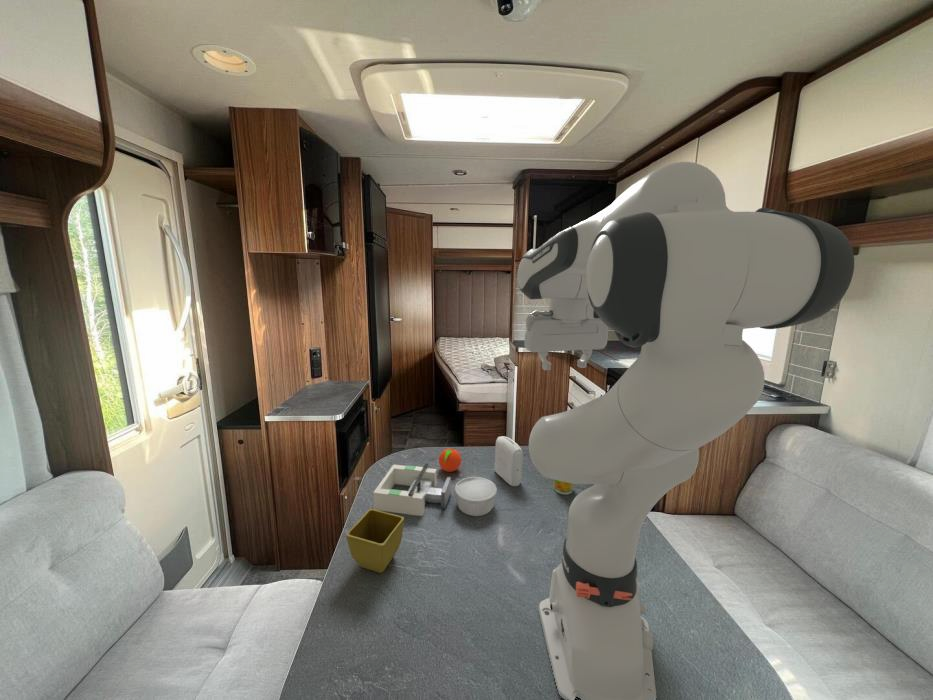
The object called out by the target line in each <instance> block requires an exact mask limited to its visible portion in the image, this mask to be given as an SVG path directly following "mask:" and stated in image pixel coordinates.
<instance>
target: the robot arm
mask: <svg viewBox="0 0 933 700" xmlns="http://www.w3.org/2000/svg"><path fill="white" fill-rule="evenodd" d="M854 270H855V255H854V250H853V247H852V244H851V242H850V240H849V238H848V237H847V235H845V233H844V232H843V231H842V230H840V229H839V228H838V227H836V226H834V225H833V224H831V223H828V222H825V221H823V220H820V219H818V218H814V217H810V216H807V215H802V214H799V213H793V212H789V211H788V212H787V211H782V210H781V211H780V210H776V209H772V208H768V207H760V208H758V209H757V210H755V211H733V210H731V209H730V208H728V206H727V202H726V193H725V189H724V186H723V184H722V182H721V181H720V178H718V176H717V175H716V173H714V172H713V171H712V170H711V169H709V168H707V167H706V166H704V165H702V164H699V163H695V162H691V161H679V162H678V161H676V162H671V163H668V164H665V165H663V166H661V167H659V168H657V169H655V170H653V171H651V172H650V173H648V174H646V175H645V176H643V177H641V178H640V179H639V180H636V182H634V183H633V184H631V185H630V186H629V187H628V188H627V189H626V190H624V191H623V192H622V193H621V194H620V195H619V196H618V197H616V198H615V200H613V202H612V203H611V204H609V205H608V206H606V207H605V208H604V209H602V210H600V211H599V212H597V213H596V214H594V215H592V216H590V217H588V218H587V219H585V220H582V221H580V222H579V223H576V224H575V225H573V226H569V227H568V228H566V229H564V230H561V231H559V232H558V233H556V234H555V235H553V236H552V237H550V238H549V239H548V240H547V241H545V242H544V243H543V244H542V245H540V246H539V247H538V248H531V249H529V250H528V251H527V252H526V253H525V254H524V255H522V257H521V259H520V262H519V265H518V269H517V284H518V289H519V290H520V292H521V293H523V295H524V296H525V297H526V298H528V299H529V300H530V301H531V300H542V299H549V303H548V304H549V305H548V310H542V311H541V310H534V311H532V312H531V313H529V314H528V315H527V316H526V320H525V321H526V322H525V325H526V330H525V335H524V341H523V342H524V343H523V346H524V348H525V349H526V350H527V351H529V352H531V353H537V355H538V357H539V359H540V361H541V368H542V370H543V371H551V370H552V362H550V361H548V360H547V357H548V356H549V353H550V352H566V351H581V352H582V355H581V357H580V358H579V359H577V364H576V366H577V367H578V368H580V369H582V368H583V369H584V368H587V366H588V365H587V364H588V361H589V359H590V357H591V356H592V354H593V350H603V349H605V347H606V346H607V345H608V336H609V328H610V329H611V330H612V331H614V333H615V335H616V338H617V339H618V340H619V341H620V342H621V343H622V344H624V345H625V346H628V347H630V348H641V349H640V353H639V356H638V357H637V359H636V360H634V362H633V363H632V364H631V365H629V367H628V368H627V369H626V371H625V372H624V373H623V374H622V375H621V376H620V378H618V380H617V381H616V382H615V383H614V384H613V385H612V387H611V388H610V389H609V390H608V391H607V392H606V393H604V394H603V395H602V394H601V396H599V397H596V398H594V399H592V400H589V401H587V402H586V403H584V404H580V405H579V406H578V405H577V407H574V408H572V409H571V408H570V409H569V410H566V411H563V412H559V413H554V414H550V415H545V416H541V417H540V418H539V419H538V420H537V421H536V423H535V424H534V426H533V427H532V429H531V431H530V434H529V440H528V450H529V455H530V456H529V457H530V460H531V462H532V464H533V465H534V467H535V469H536V470H537V471H538V473H539V474H540V475H541V476H542V477H543V478H545V479H546V478H547V479H550V480H553V481H554V480H558V481H563V482H568V483H573V485H592V486H590V487H588V488H586V489H584V490H582V491H581V492H580V493H578V494H577V495H576V496H575V497H574V499H572V502H571V504H570V505H569V509H568V516H567V517H568V518H567V530H566V537H565V539H564V541H563V545H562V548H561V549H562V551H561V556H562V557H561V562H560V563H559V564H558V566H556V567H555V568H554V569H553V570H552V573H551V579H550V580H551V581H550V582H551V583H550V587H549V588H550V589H549V597H547V598H545V599H544V600H541V601H540V602H539V604H538V608H537V609H538V615H539V619H540V623H541V629H542V632H543V637H544V640H545V645H546V649H547V653H549V654H548V658H550V659H549V662H551V663H550V667H551V666H552V668H551V671H552V670H553V672H552V675H554V676H553V679H554V678H555V681H554V683H555V682H556V685H555V687H556V686H557V689H558V691H559V693H560V694H561V695H562V696H564V697H565V698H567V699H569V700H574V699H575V698H576V697H575V696H576V695H580V696H581V698H582V699H583V700H584V699H585V700H648V699H650V700H651V699H653V698H654V699H655V698H657V689H656V680H655V673H654V672H655V670H654V663H653V661H654V660H653V652H652V651H653V649H654V635H653V632H651V631H650V625H649V622H648V621H647V620H646V619H645V617H643V616H642V615H646V613H647V605H646V604H644V603H641V601H640V589H641V583H639V581H638V575H639V574H638V561H637V557H636V556H637V555H636V554H637V549H638V543H639V538H640V534H641V530H642V527H643V525H644V523H645V520H646V518H647V517H648V515H649V513H650V512H651V511H652V509H653V508H654V506H655V505H656V504H657V503H658V502H659V500H661V499H662V497H664V495H666V494H667V493H668V492H669V491H670V490H672V489H673V488H675V487H676V486H678V485H680V484H682V483H684V482H686V481H688V480H689V479H690V478H692V477H693V475H694V473H696V470H697V468H698V465H699V461H700V460H699V459H700V450H699V448H702V447H703V446H705V445H707V444H708V443H711V442H713V441H714V440H716V439H717V438H718V437H720V436H722V435H723V434H724V433H726V432H727V431H728V430H730V429H731V428H732V427H734V425H736V424H737V423H738V422H739V421H740V420H741V419H743V418H744V417H745V416H746V415H747V414H748V413H749V411H750V410H751V409H752V408H753V407H754V406H755V405H756V404H757V403H758V401H759V399H760V398H761V396H762V394H763V391H764V388H765V382H766V381H765V372H764V367H763V364H762V361H761V360H760V358H759V356H758V354H757V353H756V352H755V350H754V349H753V348H752V347H751V346H750V345H749V344H748V343H747V342H746V341H744V339H743V333H744V332H743V331H744V329H755V328H760V329H765V330H775V329H776V330H777V329H782V328H789V327H793V326H794V327H795V326H797V325H801V324H805V323H808V322H811V321H813V320H816V319H819V318H821V317H822V316H824V315H826V314H827V313H829V312H830V311H832V310H833V309H834V308H835V307H836V306H837V305H838V304H839V303H840V301H841V300H842V299H843V298H844V297H845V295H846V293H847V291H848V289H849V287H850V284H851V283H852V280H853V277H854V276H853V275H854ZM646 675H648V676H649V677H647V676H646ZM557 689H556V690H557ZM648 690H650V691H651V692H649V691H648ZM576 699H577V698H576Z"/></svg>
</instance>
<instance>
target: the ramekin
mask: <svg viewBox="0 0 933 700" xmlns="http://www.w3.org/2000/svg"><path fill="white" fill-rule="evenodd" d="M454 494H455V498H456V504H457V507H458V509H459V510H460V511H461V512H462V513H464V514H465V515H467V516H470V517H471V516H472V517H481V516H484V515H487V514H488V513H490V512H491V511H492V510H493V508H494V505H495V500H496V496H497V494H498V489H497V485H496V484H495V483H494V482H493V481H492V480H490V479H487V478H485V477H480V476H469V477H465V478H463V479H460V480H459V481H458V482H457V483H456V484H455V486H454Z"/></svg>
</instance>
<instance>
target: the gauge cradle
mask: <svg viewBox="0 0 933 700" xmlns="http://www.w3.org/2000/svg"><path fill="white" fill-rule="evenodd" d="M423 467H424V466H416V465H415V466H414V465H408V464H407V465H402V464H392V465H391V467H390V468H389V470H387V473H386V474H385V476H384V477H383V478H382V480H381V481H380V483H379V484H378V485H377V487H376V488H375V490H373V493H372V494H373V495H372V496H373V509H375V510H378V511H382V512H386V513H394V514H395V513H396V514H403V515H411V516H418V517H423V515H424V513H425V511H426V509H425V506H426V504H425V499H424V494H421V493H415V492H413V494H412V496H408V494H409V492H410V491H408V490H402V489H401V490H400V489H393V487H394V486H395V485H400V486H401V485H402V486H409V487H411V485H412V483H413V481H414V480H415V479H417V478H418V476H419V474H420V472H421V470H422V469H423ZM421 480H430V481H432V488H437V483H438V481H437V480H438V479H437V469H436V468H428V467H427V468H426V470H425V472H424V474H423V476H422V478H421Z"/></svg>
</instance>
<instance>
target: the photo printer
mask: <svg viewBox="0 0 933 700" xmlns="http://www.w3.org/2000/svg"><path fill="white" fill-rule="evenodd" d="M494 448H495V449H494V451H495V452H494V454H495V455H494V472H496V474H497V475H498V476H499V477H500V478H502V480H504V481H505V483H507V484H508V485H509V486H512V487H518V486H520V484H521V483H522V477H523V463H524V460H523V459H524V451H523V449H522V448H521V446H520V445H519V444H518V443H517V442H515V440H513V439H512V438H510V437H508V436H505V435H504V436H503V435H502V436H498V437H497V438H496V440H495V447H494Z"/></svg>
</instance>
